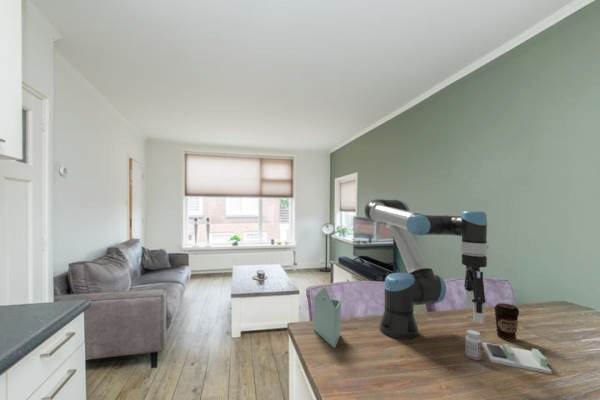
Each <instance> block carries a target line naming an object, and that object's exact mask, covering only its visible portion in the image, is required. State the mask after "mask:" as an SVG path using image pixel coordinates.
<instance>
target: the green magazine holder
mask: <svg viewBox="0 0 600 400" xmlns="http://www.w3.org/2000/svg"><path fill="white" fill-rule="evenodd" d="M313 305H314V306H313V309H314V310H313V330H314V331H315V332H316V334H318V335H319V336H321V338H322V339H323V340H324V341H326V343H328V345H330V346H331V347H332V348H334V349H335V348H336V346H337V344H338V343H339V340H340V336H341V321H342V320H341V318H342V315H341V314H342V310H341V309H342V301H341V300H339V299H338V300H337V299H334V298H333V299H332V298H331V297H330V294H329V292H328V290H327V287H326V286H323V287H322V289H321V290H319V291H318V292H317V293H316V294H315V295H314V299H313Z"/></svg>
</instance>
